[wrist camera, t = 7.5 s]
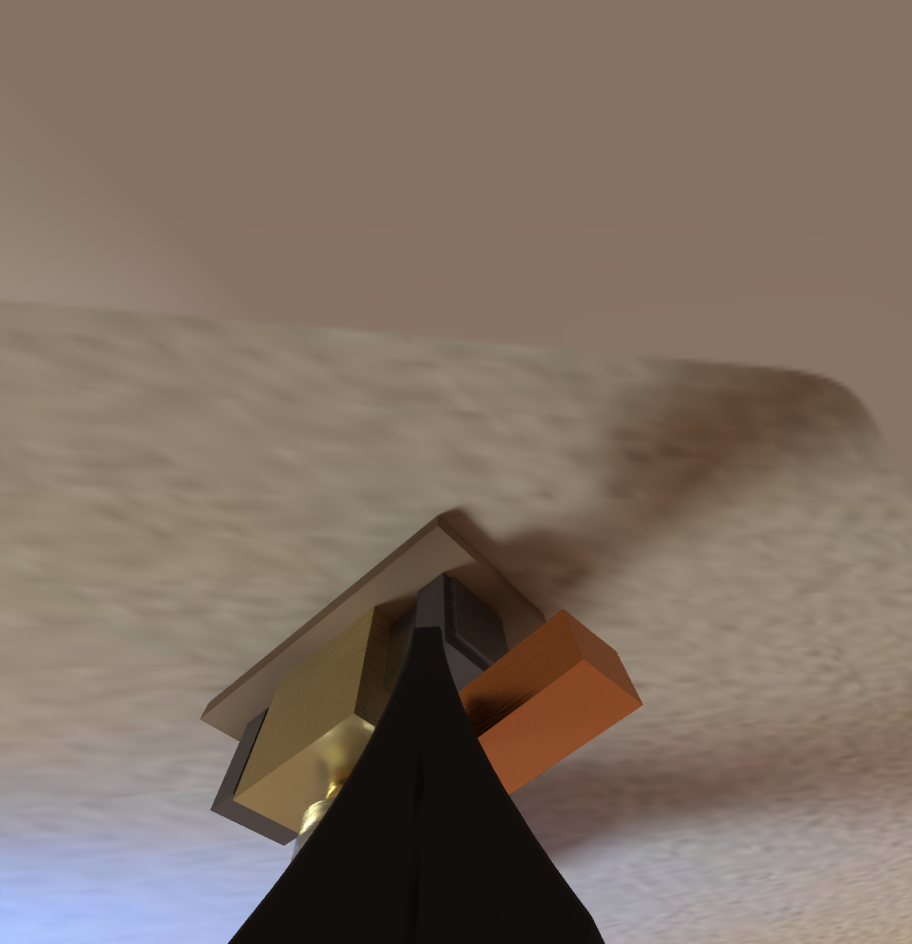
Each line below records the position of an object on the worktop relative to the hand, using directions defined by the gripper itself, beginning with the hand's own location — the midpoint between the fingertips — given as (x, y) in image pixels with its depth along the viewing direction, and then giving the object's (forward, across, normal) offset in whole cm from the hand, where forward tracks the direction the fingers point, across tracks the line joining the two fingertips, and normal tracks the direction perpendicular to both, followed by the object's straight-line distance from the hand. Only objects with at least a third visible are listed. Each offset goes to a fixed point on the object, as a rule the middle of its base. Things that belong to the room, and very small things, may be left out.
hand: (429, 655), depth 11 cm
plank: (+6, +3, +7) cm, 10 cm away
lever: (0, 0, +3) cm, 3 cm away
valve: (+6, +3, +7) cm, 10 cm away
